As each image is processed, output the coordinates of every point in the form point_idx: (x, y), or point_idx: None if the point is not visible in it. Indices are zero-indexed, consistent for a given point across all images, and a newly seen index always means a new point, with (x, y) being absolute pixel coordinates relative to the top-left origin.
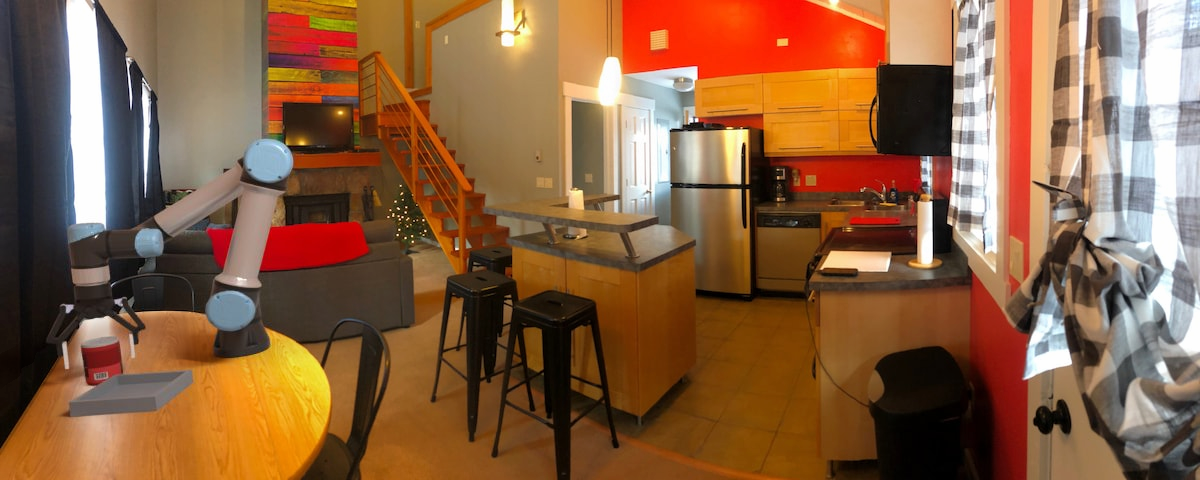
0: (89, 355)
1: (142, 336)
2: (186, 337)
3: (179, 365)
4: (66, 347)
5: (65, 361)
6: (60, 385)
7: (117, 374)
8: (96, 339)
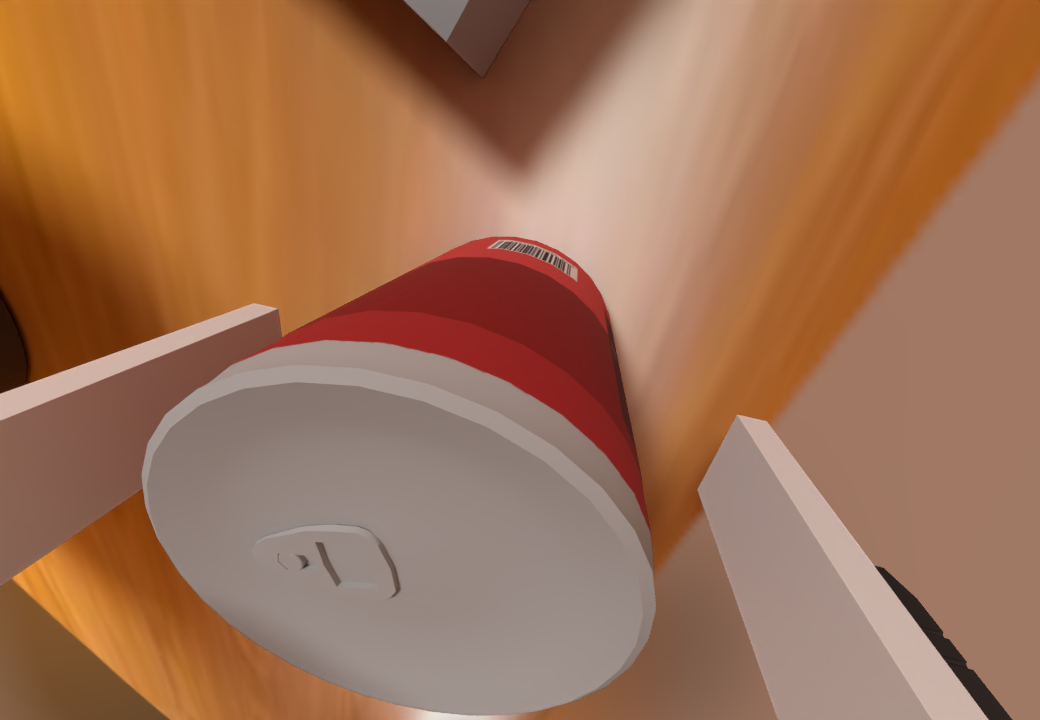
0: (591, 368)
1: (333, 716)
2: (202, 621)
3: (153, 276)
4: (899, 663)
5: (797, 473)
6: (697, 449)
7: (429, 20)
8: (422, 683)
